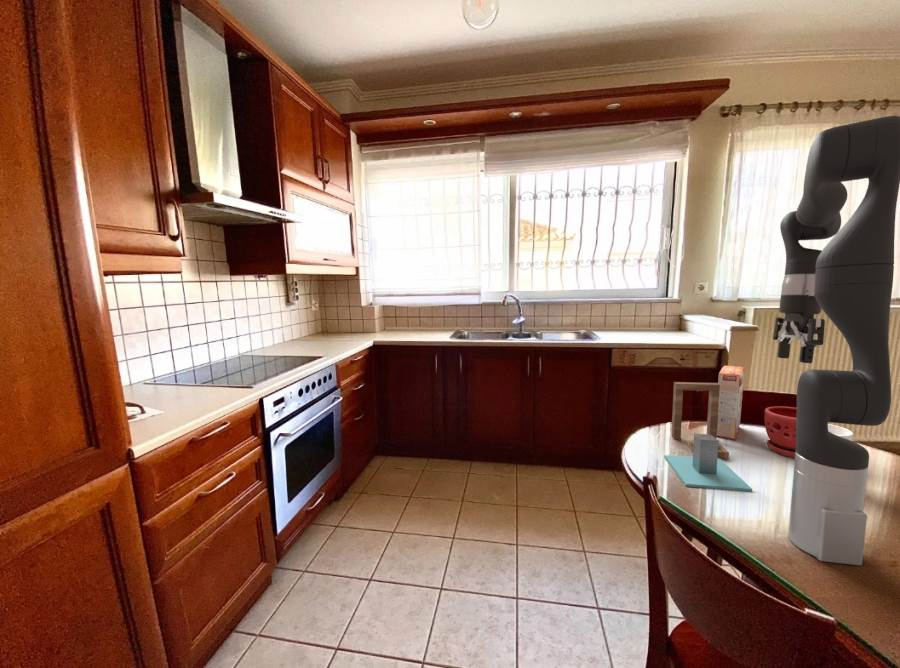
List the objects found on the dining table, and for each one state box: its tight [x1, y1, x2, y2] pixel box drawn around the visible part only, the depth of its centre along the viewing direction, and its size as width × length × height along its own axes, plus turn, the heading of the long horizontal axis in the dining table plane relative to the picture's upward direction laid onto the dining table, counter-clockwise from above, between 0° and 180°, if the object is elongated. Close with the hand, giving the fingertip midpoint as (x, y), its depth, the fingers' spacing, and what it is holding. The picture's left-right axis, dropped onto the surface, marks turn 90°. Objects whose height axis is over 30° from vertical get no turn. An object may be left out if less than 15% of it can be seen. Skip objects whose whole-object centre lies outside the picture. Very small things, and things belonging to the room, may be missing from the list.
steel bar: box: [692, 433, 719, 475], centre depth 97 cm, size 4×4×9 cm
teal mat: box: [663, 454, 753, 492], centre depth 98 cm, size 16×14×1 cm
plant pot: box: [763, 406, 797, 459], centre depth 107 cm, size 13×13×12 cm
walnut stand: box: [671, 381, 730, 460], centre depth 112 cm, size 15×12×18 cm
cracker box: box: [717, 365, 745, 441], centre depth 123 cm, size 14×6×21 cm, turn 139°
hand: (793, 360), depth 92 cm, fingers open, 8 cm apart
